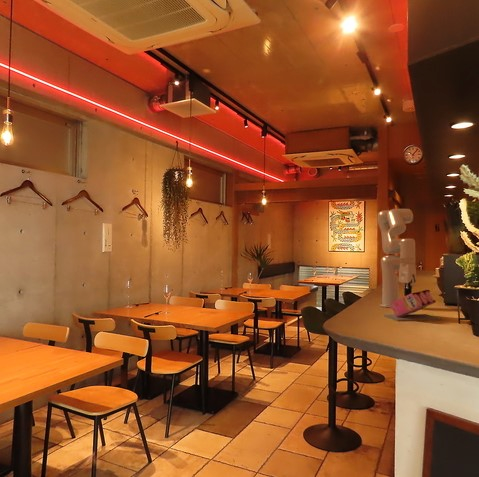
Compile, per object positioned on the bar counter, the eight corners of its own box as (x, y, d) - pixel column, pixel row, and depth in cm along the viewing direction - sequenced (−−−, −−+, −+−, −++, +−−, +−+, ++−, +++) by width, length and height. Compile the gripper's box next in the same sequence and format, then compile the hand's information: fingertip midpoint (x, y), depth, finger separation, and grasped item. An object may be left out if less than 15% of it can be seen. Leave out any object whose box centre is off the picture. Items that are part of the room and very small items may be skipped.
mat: (384, 316, 219) (384, 314, 219) (426, 315, 222) (426, 314, 222) (397, 321, 205) (397, 319, 205) (442, 320, 208) (442, 318, 208)
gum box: (408, 299, 231) (429, 288, 223) (415, 312, 228) (437, 302, 220) (389, 303, 214) (411, 292, 206) (396, 317, 211) (419, 307, 203)
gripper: (393, 261, 226) (394, 294, 226) (409, 261, 212) (409, 297, 211) (406, 261, 228) (406, 294, 227) (422, 262, 213) (422, 297, 212)
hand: (407, 296), depth 219 cm, fingers closed
